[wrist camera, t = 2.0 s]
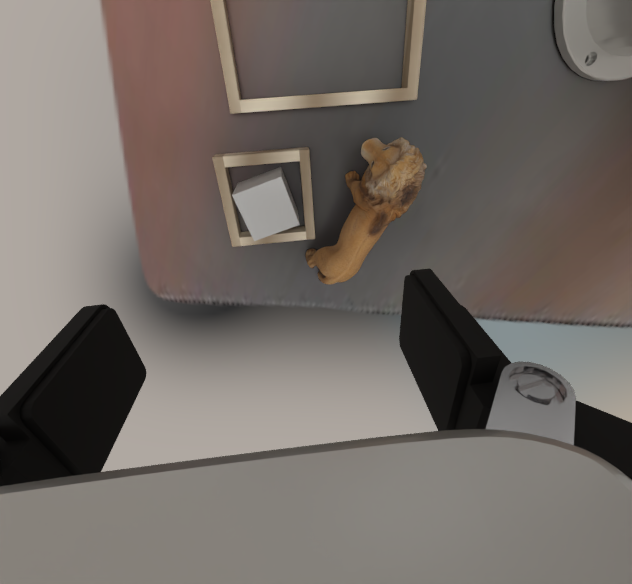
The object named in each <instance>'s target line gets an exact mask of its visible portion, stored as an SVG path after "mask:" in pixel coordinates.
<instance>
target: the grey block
mask: <svg viewBox="0 0 632 584" xmlns="http://www.w3.org/2000/svg"><path fill="white" fill-rule="evenodd" d="M232 196H233V199H234V201H235V203H236V205H237V207H238V209H239V211H240V213H241V215H242V217H243V219H244V221H245V223H246V225H247V227H248V229H249V231H250V234H251V236H252V238H253V240H254V241H256V240H259V239H262V238H265V237H267V236H270V235H273V234H276V233H278V232H281V231H284V230H287V229H289V228H292V227H295V226H298V225H300V223H299V216H298V210H297V207H296V205H295V202H294V199H293V197H292V194H291V191H290V189H289V186H288V183H287V181H286V178H285V176H284V173H283V170H282V168H281V167H278V168H275V169H273V170H270V171H268V172H265V173H262V174H260V175H257V176H255V177H252V178H249V179H247V180H244V181H241V182H239V183H237V186H236V188H235V190H234V192H233V194H232Z"/></svg>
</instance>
